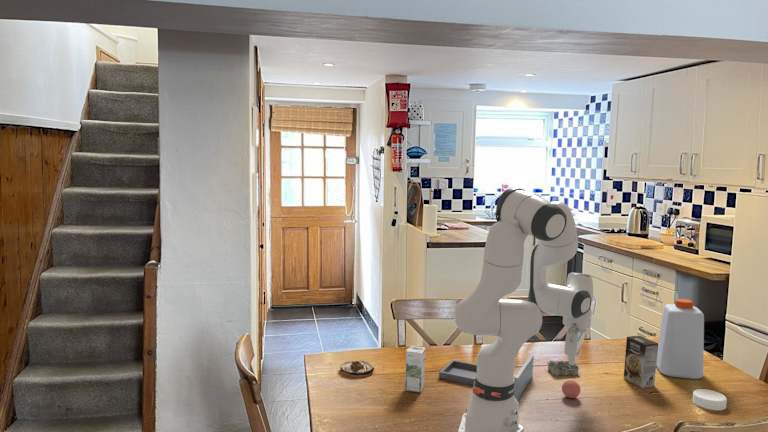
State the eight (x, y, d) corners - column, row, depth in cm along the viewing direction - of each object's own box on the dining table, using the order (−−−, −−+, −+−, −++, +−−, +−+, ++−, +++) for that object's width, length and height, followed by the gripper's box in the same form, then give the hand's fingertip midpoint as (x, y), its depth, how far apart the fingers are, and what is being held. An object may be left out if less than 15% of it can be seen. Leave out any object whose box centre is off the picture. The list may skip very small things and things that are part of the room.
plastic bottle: (661, 376, 215) (667, 304, 212) (652, 362, 230) (658, 294, 226) (705, 381, 212) (712, 307, 208) (694, 366, 226) (700, 297, 223)
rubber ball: (578, 402, 191) (579, 385, 190) (559, 398, 194) (561, 381, 193) (581, 396, 196) (582, 379, 196) (562, 392, 199) (564, 375, 198)
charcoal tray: (476, 386, 203) (476, 379, 202) (439, 378, 209) (439, 371, 208) (487, 372, 215) (487, 366, 215) (452, 365, 221) (452, 359, 221)
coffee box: (622, 378, 213) (625, 336, 211) (636, 376, 215) (639, 334, 213) (641, 388, 204) (645, 344, 202) (655, 386, 206) (659, 342, 204)
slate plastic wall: (516, 401, 191) (518, 378, 190) (513, 400, 192) (514, 377, 191) (532, 376, 213) (533, 355, 212) (529, 375, 213) (530, 354, 212)
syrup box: (424, 386, 201) (425, 346, 199) (420, 393, 195) (422, 352, 194) (408, 384, 203) (409, 344, 201) (404, 391, 197) (405, 350, 195)
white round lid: (695, 395, 200) (696, 385, 199) (728, 404, 193) (729, 394, 193) (689, 405, 192) (689, 395, 192) (723, 414, 186) (724, 403, 185)
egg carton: (552, 376, 214) (552, 366, 213) (545, 368, 221) (546, 358, 221) (580, 376, 214) (581, 365, 214) (572, 368, 222) (573, 358, 221)
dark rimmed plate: (381, 378, 208) (381, 367, 208) (340, 382, 205) (341, 370, 204) (372, 363, 222) (372, 353, 222) (334, 366, 219) (334, 356, 218)
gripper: (582, 330, 181) (578, 372, 183) (591, 313, 199) (588, 351, 201) (561, 327, 184) (558, 368, 186) (572, 310, 202) (569, 347, 204)
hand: (573, 359), depth 194 cm, fingers open, 8 cm apart
